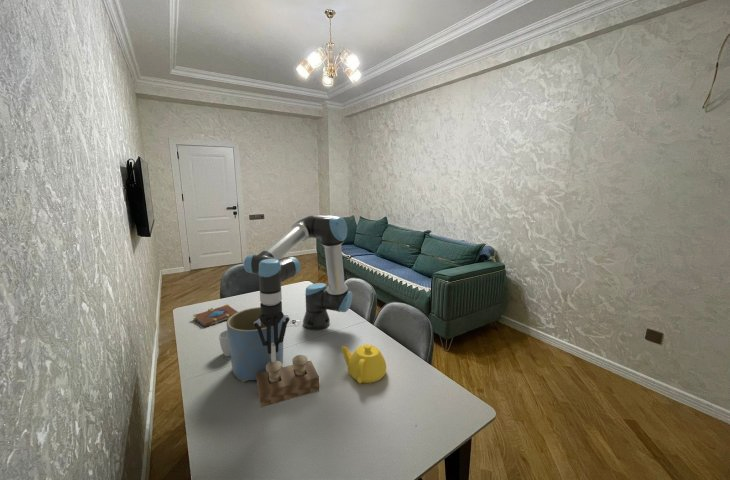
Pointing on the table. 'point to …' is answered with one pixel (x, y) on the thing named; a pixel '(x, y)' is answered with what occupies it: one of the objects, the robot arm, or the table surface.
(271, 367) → the peg
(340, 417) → the table surface
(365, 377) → the teapot
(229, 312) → the book
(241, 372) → the planter
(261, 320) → the robot arm
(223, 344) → the cup
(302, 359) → the peg
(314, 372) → the socket block
